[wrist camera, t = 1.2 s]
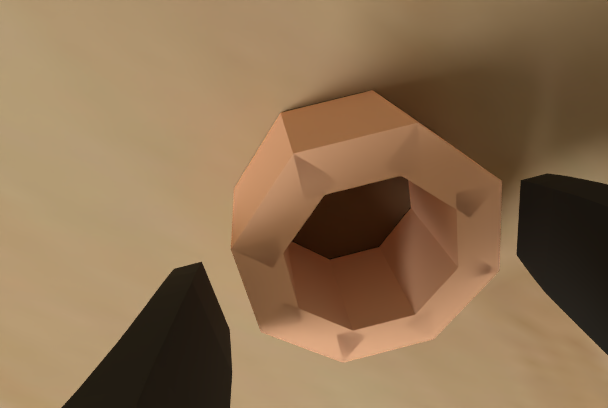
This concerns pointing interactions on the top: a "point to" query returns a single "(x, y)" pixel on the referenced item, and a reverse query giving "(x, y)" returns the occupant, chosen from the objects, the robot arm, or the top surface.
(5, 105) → the top surface
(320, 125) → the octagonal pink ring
